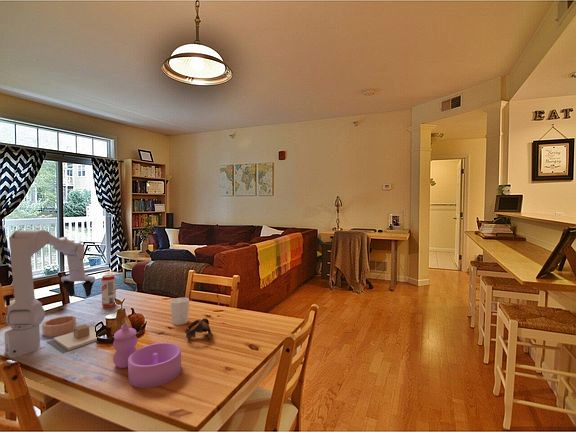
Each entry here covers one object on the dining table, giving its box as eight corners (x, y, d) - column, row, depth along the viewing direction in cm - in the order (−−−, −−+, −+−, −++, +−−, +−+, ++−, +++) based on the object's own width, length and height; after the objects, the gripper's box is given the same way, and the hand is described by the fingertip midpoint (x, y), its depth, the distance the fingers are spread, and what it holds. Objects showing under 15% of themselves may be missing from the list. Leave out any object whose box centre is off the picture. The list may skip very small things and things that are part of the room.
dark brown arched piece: (210, 345, 116) (198, 328, 114) (190, 353, 118) (178, 337, 116) (219, 324, 128) (208, 309, 126) (200, 333, 130) (190, 318, 128)
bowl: (48, 339, 120) (48, 328, 120) (39, 332, 126) (38, 322, 126) (80, 330, 129) (79, 319, 129) (69, 324, 135) (69, 314, 135)
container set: (191, 367, 100) (190, 327, 99) (153, 393, 86) (152, 348, 85) (137, 351, 110) (137, 316, 110) (96, 373, 96) (95, 332, 96)
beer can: (105, 309, 154) (104, 277, 154) (100, 306, 158) (99, 276, 157) (118, 305, 159) (117, 275, 159) (112, 303, 163) (112, 273, 162)
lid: (68, 350, 110) (67, 338, 110) (53, 340, 118) (53, 329, 118) (108, 336, 122) (108, 325, 122) (93, 328, 130) (92, 317, 130)
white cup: (185, 325, 133) (185, 303, 133) (168, 325, 134) (167, 303, 133) (191, 318, 141) (191, 297, 141) (175, 318, 141) (174, 297, 141)
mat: (62, 354, 108) (62, 353, 108) (46, 342, 117) (46, 341, 117) (115, 336, 123) (115, 335, 123) (97, 327, 132) (97, 326, 132)
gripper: (97, 265, 143) (101, 291, 146) (67, 265, 143) (71, 291, 146) (87, 270, 136) (91, 298, 139) (55, 270, 137) (60, 298, 139)
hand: (80, 295), depth 142 cm, fingers open, 7 cm apart
